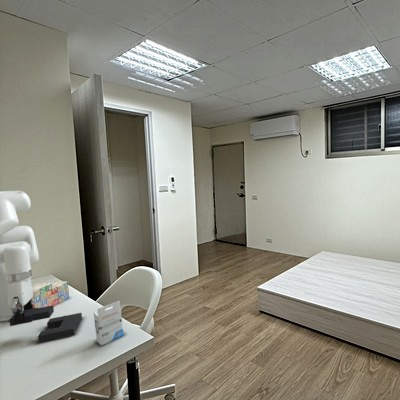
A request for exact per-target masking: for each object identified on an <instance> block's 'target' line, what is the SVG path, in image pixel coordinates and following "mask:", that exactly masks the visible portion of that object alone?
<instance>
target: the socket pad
mask: <svg viewBox="0 0 400 400" xmlns="http://www.w3.org/2000/svg"><path fill="white" fill-rule="evenodd" d="M82 319H83V313H82V312H77V313H72V314H67V315H62V316H56V317H52V318H51V317H50V318H48V321H47V322H46V327H47V329H45V330H41V331H40V332H39V333H38V336H37V340H38V344H39V343H43V342H49V341H53V340H57V339H62V338H67V337H70V336H71V337H72V336H75V334H76V332H77V330H78V328H79V326H80V324H81V321H82Z"/></svg>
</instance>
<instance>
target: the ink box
mask: <svg viewBox="0 0 400 400" xmlns="http://www.w3.org/2000/svg"><path fill="white" fill-rule="evenodd" d="M93 320H94V327H95V328H94V329H95V336H96V343H98V344H99V345H100V346H103V345H105V344H108V343H109V342H111V341H114V340H115V339H118V338H120V337H122V336H124V329H123V328H124V327H123V317H122V309H121V302H120V300H117V301H115V302H112V303H109V304H107V305H104V306H102V307H99V308H97V311H96V312H93Z"/></svg>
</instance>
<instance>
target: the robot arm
mask: <svg viewBox="0 0 400 400" xmlns="http://www.w3.org/2000/svg"><path fill="white" fill-rule="evenodd" d="M31 206H32V203H31V199H30V197H29V195H28V194H27V193H26V192H25V191H22V190H2V191H0V322H9V319H10V318H11V317H12V316H13V315H14V319H15V324H19V325H21V324H20V323H24V324H26V323H25V322H26V318H25V312H23V311H24V310H27V309H33V304H32V303H33V301H32V297H33V288H32V286H33V284H32V278H33V273H32V266H33V265H36V264H38V263H39V260H40V253H39V249H38V245H37V240H36V237H35V236H36V235H35V232H34V230H33V228H32V227H31V226H28V225H19V223H20V221H19V217H18V214H17V212H24V211H25V212H26V211H29V210H30V208H31ZM18 304H22V305H19V306H17V305H18ZM18 307H21V310H20V309H18Z"/></svg>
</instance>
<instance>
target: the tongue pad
mask: <svg viewBox="0 0 400 400" xmlns="http://www.w3.org/2000/svg"><path fill="white" fill-rule="evenodd" d="M54 308H55V307H54V306H53V305H52V306H47V307H42V308H33V309H27V310H24V311H23V312H25V318H26V322H25V323H20V324H15V319H14V315H13V316H12V317H11V318H10V319H9V320H8V322H9V327H14V326H17V325H18V326H19V325H23V324H29V323H33V322H34V321H40V320H45V319H51V316H52V315H53V314H54V313H55V309H54Z"/></svg>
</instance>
